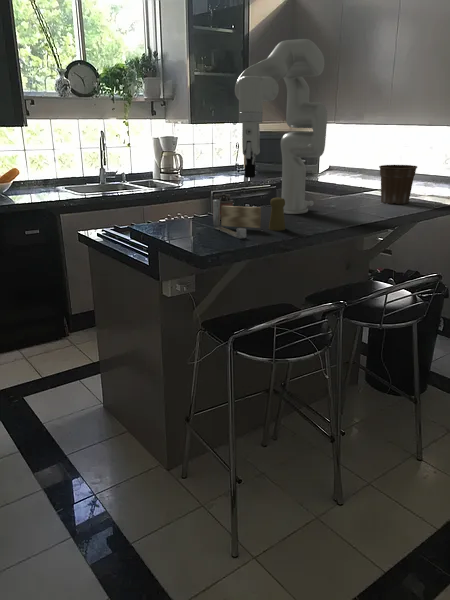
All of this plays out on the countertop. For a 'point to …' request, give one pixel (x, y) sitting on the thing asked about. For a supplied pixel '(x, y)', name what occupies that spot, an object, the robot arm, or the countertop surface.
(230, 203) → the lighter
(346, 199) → the countertop surface
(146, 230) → the countertop surface
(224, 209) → the door
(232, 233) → the grey l-shaped bracket
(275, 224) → the cork
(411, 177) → the plant pot
